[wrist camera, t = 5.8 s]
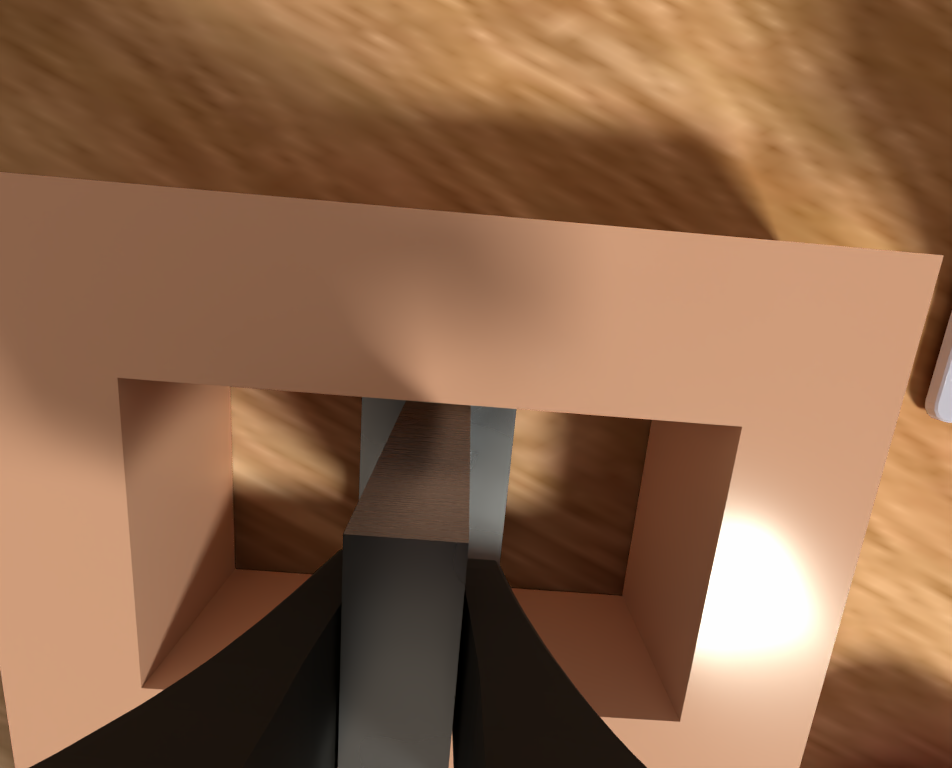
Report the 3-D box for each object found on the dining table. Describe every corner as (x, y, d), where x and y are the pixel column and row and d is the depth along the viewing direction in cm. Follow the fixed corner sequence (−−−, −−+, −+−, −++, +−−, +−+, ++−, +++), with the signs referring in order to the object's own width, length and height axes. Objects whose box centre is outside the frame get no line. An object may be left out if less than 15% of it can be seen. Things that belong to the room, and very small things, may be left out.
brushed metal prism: (513, 391, 14) (562, 549, 6) (496, 548, 15) (521, 841, 8) (371, 379, 14) (247, 527, 6) (366, 539, 15) (256, 827, 8)
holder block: (790, 259, 14) (943, 255, 9) (696, 695, 17) (777, 848, 12) (108, 199, 13) (-76, 164, 9) (142, 659, 16) (20, 805, 12)
